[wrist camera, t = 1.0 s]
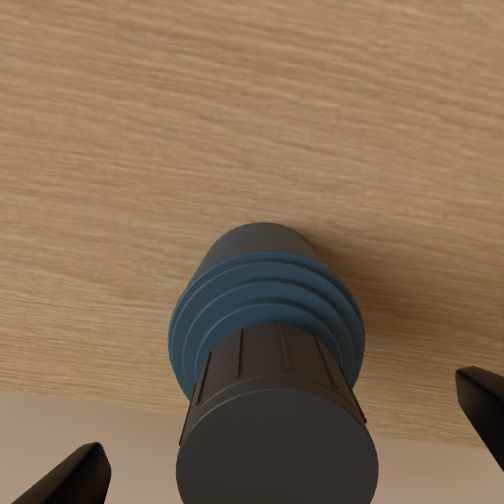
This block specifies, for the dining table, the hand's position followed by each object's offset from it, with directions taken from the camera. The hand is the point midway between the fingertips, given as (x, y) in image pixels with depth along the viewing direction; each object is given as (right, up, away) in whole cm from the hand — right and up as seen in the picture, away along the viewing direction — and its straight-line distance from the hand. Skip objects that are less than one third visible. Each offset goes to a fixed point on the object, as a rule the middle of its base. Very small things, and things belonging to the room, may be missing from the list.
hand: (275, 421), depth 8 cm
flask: (0, +2, +10) cm, 10 cm away
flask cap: (0, 0, +1) cm, 1 cm away
